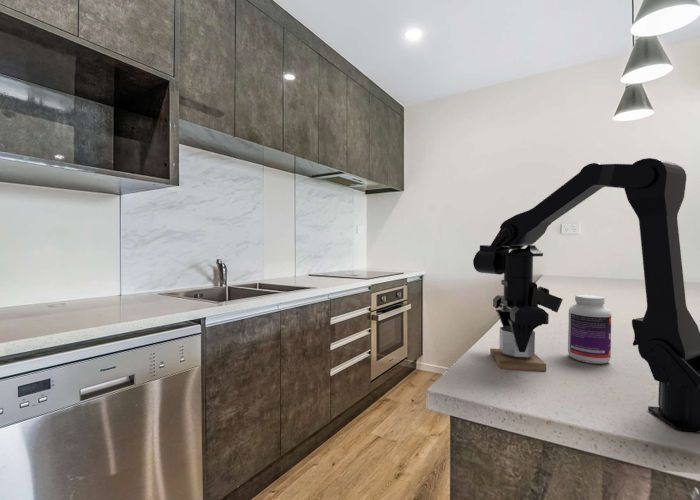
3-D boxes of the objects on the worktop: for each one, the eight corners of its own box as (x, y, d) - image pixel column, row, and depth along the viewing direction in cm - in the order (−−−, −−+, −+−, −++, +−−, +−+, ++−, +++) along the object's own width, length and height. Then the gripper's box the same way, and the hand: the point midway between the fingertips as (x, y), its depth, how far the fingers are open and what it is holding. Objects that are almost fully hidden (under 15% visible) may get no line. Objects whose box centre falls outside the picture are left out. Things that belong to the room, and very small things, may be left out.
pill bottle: (618, 366, 75) (619, 300, 75) (576, 364, 77) (578, 298, 77) (599, 354, 83) (601, 294, 83) (562, 352, 85) (563, 293, 84)
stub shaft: (546, 371, 73) (546, 339, 72) (500, 368, 74) (500, 337, 74) (530, 356, 81) (531, 329, 81) (490, 354, 83) (490, 327, 83)
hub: (537, 357, 74) (538, 334, 74) (505, 356, 75) (505, 332, 75) (527, 348, 80) (527, 326, 80) (497, 347, 81) (497, 325, 81)
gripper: (578, 282, 67) (577, 363, 67) (541, 273, 85) (540, 337, 86) (516, 280, 68) (515, 360, 69) (492, 272, 87) (492, 335, 87)
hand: (516, 347), depth 78 cm, fingers open, 6 cm apart
